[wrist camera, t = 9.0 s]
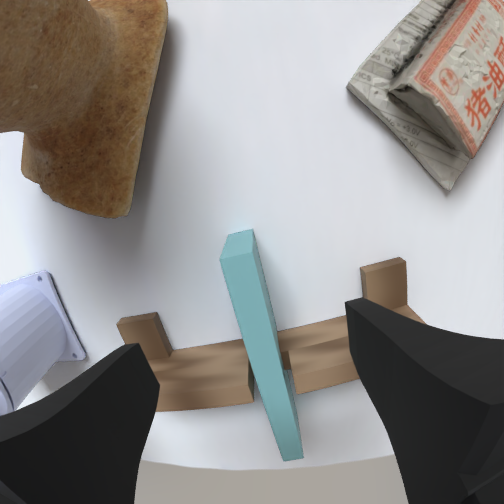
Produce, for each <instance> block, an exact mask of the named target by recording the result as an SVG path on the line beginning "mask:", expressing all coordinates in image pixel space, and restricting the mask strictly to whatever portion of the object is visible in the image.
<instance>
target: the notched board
mask: <svg viewBox="0 0 504 504" xmlns="http://www.w3.org/2000/svg"><path fill="white" fill-rule="evenodd" d="M360 271H361V280H362V290H363V298H365V299H368V300H370V301H372V302H375V303H377V304H379V305H381V306H383V307H385V308H387V309H390V310H392V311H394V312H396V313H399V314H401V315H403V316H406V317H408V318H410V319H413V320H416V321H418V322H421V323H424V324H426V323H425V322H424V321H423V320H422V319H421V318H420V317H419V316H418V315H417V314H416V313H415V312H414V311H413V310H412V309H411V308H410V307H409V306H408V305H407V271H406V261H405V260H403V259H402V258H400V257H397V258H394V259H390V260H386V261H383V262H379V263H375V264H371V265H367V266H364V267H360ZM116 325H117V327H118V330H119V332H120V334H121V336H122V338H123V340H124V343H125V344H132V343H139V344H140V346H141V348H142V350H143V352H144V354H145V356H146V358H147V361H148V363H149V365H150V367H151V369H152V371H153V373H154V374H155V376H156V378H157V380H158V382H159V384H160V391H159V398H158V403H157V409H156V412H164V411H182V410H195V409H206V408H216V407H224V406H232V405H240V404H247V403H253V402H254V372H253V369H252V366H251V363H250V360H249V357H248V354H247V350H246V347H245V344H244V341H243V339H238V340H233V341H227V342H222V343H216V344H210V345H204V346H197V347H191V348H184V349H177V350H172V347H171V345H170V343H169V340H168V338H167V336H166V333H165V331H164V329H163V326H162V324H161V321H160V319H159V316H158V314H157V312H154V313H148V314H143V315H137V316H131V317H125V318H121V319H120V321H119V322H118V323H117V324H116ZM277 336H278V344H279V349H280V354H281V358H282V362H283V366H284V370H288V369H292V375H293V379H294V384H295V388H296V393H297V394H301V393H306V392H310V391H315V390H319V389H323V388H327V387H331V386H335V385H338V384H342V383H346V382H349V381H353V380H356V379H360V377H359V375H358V373H357V370H356V368H355V365H354V362H353V360H352V357H351V354H350V350H349V338H348V328H347V318H346V315H344V316H341V317H337V318H333V319H329V320H325V321H321V322H317V323H313V324H309V325H305V326H300V327H296V328H292V329H287V330H283V331H278V332H277Z"/></svg>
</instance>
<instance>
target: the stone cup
mask: <svg viewBox="0 0 504 504" xmlns="http://www.w3.org/2000/svg"><path fill="white" fill-rule="evenodd" d="M167 21H168V6H167V2H166V0H90V1H88V0H0V133H3V132H10V131H19V132H24V140H23V150H22V161H21V171H22V174H23V175H24V177H25V178H28V179H30V180H31V181H33V182H35V183H38V184H39V185H40V187H41V189H42V191H43V192H44V193H46V194H47V195H49V196H50V198H51V199H52V200H53V201H55V202H59V203H61V204H62V205H64V206H66V207H69V208H72V209H75V210H78V211H81V212H83V213H86V214H91V215H96V216H101V217H104V218H118V217H121V216H127V215H128V213H129V211H130V208H131V203H132V198H133V192H134V185H135V178H136V173H137V169H138V165H139V158H140V152H141V147H142V141H143V135H144V129H145V124H146V118H147V114H148V110H149V106H150V101H151V97H152V92H153V88H154V84H155V79H156V75H157V71H158V66H159V61H160V56H161V52H162V47H163V43H164V38H165V34H166V29H167Z"/></svg>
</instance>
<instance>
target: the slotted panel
mask: <svg viewBox="0 0 504 504" xmlns="http://www.w3.org/2000/svg"><path fill="white" fill-rule="evenodd" d="M220 263H221V267H222V270H223V274H224V277H225V281H226V284H227V287H228V291H229V294H230V298H231V301H232V304H233V308H234V311H235V314H236V318H237V321H238V324H239V328H240V331H241V334H242V337H243V341H244V344H245V347H246V350H247V354H248V357H249V360H250V363H251V366H252V369H253V372H254V376H255V379H256V382H257V385H258V388H259V391H260V394H261V397H262V400H263V403H264V406H265V409H266V412H267V415H268V418H269V421H270V424H271V427H272V430H273V433H274V436H275V439H276V442H277V444H278V447H279V450H280V453H281V456H282V459H283V461H290V460H296V459H301V458H304V456H303V449H302V443H301V436H300V430H299V424H298V417H297V412H296V407H295V403H294V399H293V395H292V390H291V386H290V382H289V378H288V374H287V370H284V366H283V362H282V358H281V354H280V349H279V344H278V336H277V329H276V323H275V319H274V315H273V311H272V307H271V302H270V298H269V294H268V290H267V286H266V282H265V278H264V273H263V269H262V265H261V261H260V257H259V253H258V249H257V245H256V241H255V237H254V232H253V229H251V230H247V231H242V232H238V233H234V234H230V235H228V238H227V240H226V243H225V246H224V248H223V251H222V254H221V257H220Z"/></svg>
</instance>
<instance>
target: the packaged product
mask: <svg viewBox="0 0 504 504" xmlns="http://www.w3.org/2000/svg"><path fill="white" fill-rule="evenodd" d="M346 87H347V88H348V89H349V90H350V91H351V93H353V94H354V95H355V96H356V97H357V98H358V99H359V100H360V101H362V102H363V103H364V104H365V105H366V106H367V107H368V108H369V109H370V110H371V111H372V112H373V113H374V114H375V115H376V116H377V117H378V118H379V119H381V120H382V121H383V122H384V123H385V124H386V125H387V126H388V127H389V128H390V130H391V131H392V132H393V133H394V134H395V135H396V136H397V137H398V138H399V139H400V140H401V141H402V143H403V144H404V145H405V146H406V147H407V148H408V149H409V150H410V152H411V153H412V154H413V155H414V156H415V157H416V158H417V160H418V161H419V162H420V163H421V164H422V166H423V167H424V168H425V169H426V170H427V171H428V172H429V174H430V175H431V176H432V177H433V178H434V179H435V180H436V181H437V182H438V183H439V184H440V185H441V186H442V187H443V188H444V189H447V190H449V191H451V189H452V187H453V185H454V183H455V182H456V180H457V178H458V177H459V175H460V174H461V173H462V172H463V171H464V169H465V167H466V165H467V164H468V162H469V160H470V159H472V158H474V157H475V155H476V153H477V151H478V150H479V149H480V147H481V145H482V143H483V141H484V140H485V138H486V136H487V134H488V133H489V131H490V129H491V127H492V125H493V123H494V121H495V120H496V118H497V115H498V113H499V111H500V109H501V107H502V105H503V103H504V2H503V0H421V1H420V2H419V4H418V5H417V6H416V7H415V8H414V9H413V10H412V11H411V12H410V13H409V14H408V15H407V16H405V17H404V18H403V19H402V20H401V21H400V22H399V23H398V24H397V26H396V27H395V28H394V29H393V30H392V31H391V32H390V33H389V34H388V35H387V36H386V37H385V39H384V40H383V41H382V42H381V43H380V44H379V45H378V46H377V47H376V48H375V50H374V51H373V52H372V53H371V54H370V55H369V56H368V57H367V58H366V59H365V61H364V62H363V63H362V64H361V65H360V66H359V68H358V69H357V71H356V72H355V74H354V75H353V77H352V78H351V80H350V81H349V83H348V85H347V86H346Z"/></svg>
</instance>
